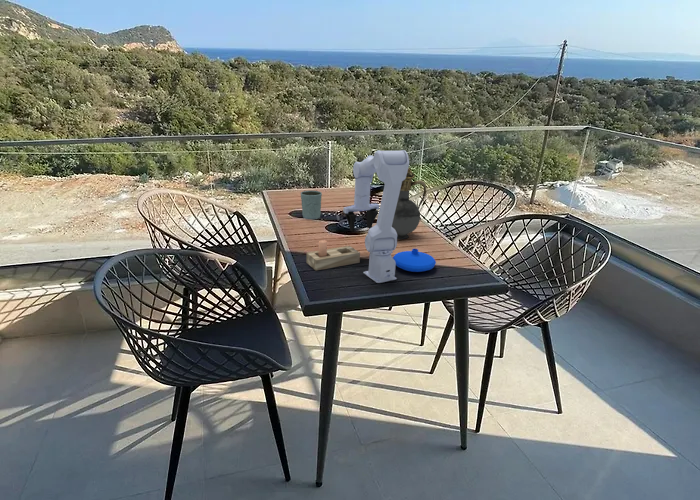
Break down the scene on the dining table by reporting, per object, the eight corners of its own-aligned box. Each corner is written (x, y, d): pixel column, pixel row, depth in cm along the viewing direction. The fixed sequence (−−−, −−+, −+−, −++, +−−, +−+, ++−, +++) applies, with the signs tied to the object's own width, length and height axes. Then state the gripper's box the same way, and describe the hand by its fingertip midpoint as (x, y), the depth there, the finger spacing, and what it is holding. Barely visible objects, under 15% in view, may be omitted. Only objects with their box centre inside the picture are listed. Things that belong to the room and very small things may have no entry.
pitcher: (378, 234, 199) (382, 166, 188) (415, 230, 206) (422, 165, 195) (389, 242, 190) (394, 171, 179) (428, 238, 197) (435, 169, 186)
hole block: (359, 262, 168) (360, 252, 166) (315, 270, 159) (316, 260, 158) (349, 255, 174) (349, 245, 173) (306, 262, 166) (306, 252, 164)
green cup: (320, 220, 215) (320, 195, 211) (299, 219, 215) (299, 194, 211) (322, 214, 225) (322, 190, 220) (301, 213, 225) (301, 189, 220)
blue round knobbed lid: (401, 278, 157) (403, 259, 154) (385, 261, 171) (387, 243, 168) (442, 274, 161) (444, 256, 158) (423, 258, 175) (425, 241, 173)
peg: (327, 265, 164) (328, 242, 161) (320, 266, 163) (320, 243, 159) (324, 262, 167) (324, 239, 163) (316, 263, 165) (317, 240, 162)
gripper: (373, 190, 173) (371, 224, 178) (339, 193, 167) (338, 228, 171) (383, 194, 168) (380, 229, 173) (349, 198, 161) (347, 234, 166)
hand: (360, 229), depth 172 cm, fingers open, 7 cm apart
